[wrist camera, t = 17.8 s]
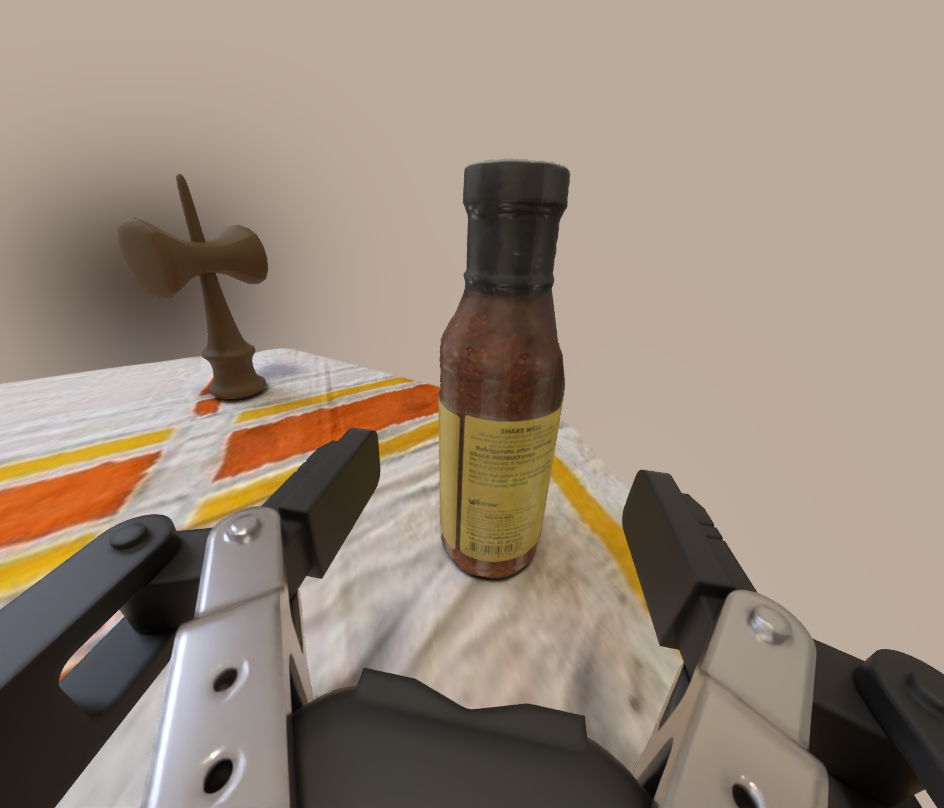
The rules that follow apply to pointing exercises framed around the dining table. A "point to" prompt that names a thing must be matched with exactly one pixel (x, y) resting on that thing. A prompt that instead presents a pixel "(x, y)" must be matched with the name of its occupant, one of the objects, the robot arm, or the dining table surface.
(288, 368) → the dining table surface
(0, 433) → the dining table surface
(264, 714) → the robot arm
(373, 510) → the dining table surface
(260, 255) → the kendama
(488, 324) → the sauce bottle
